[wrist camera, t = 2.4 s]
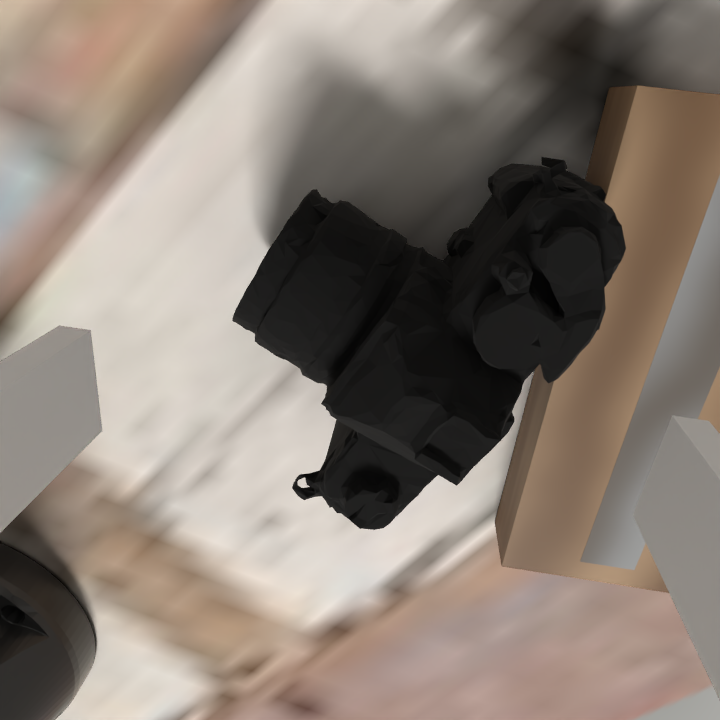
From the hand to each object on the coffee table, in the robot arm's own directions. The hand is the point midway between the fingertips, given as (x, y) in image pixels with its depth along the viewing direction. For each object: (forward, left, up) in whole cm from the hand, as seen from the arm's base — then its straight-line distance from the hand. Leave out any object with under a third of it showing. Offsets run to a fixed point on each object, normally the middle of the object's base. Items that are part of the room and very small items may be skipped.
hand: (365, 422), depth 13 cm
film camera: (0, -1, -12) cm, 12 cm away
